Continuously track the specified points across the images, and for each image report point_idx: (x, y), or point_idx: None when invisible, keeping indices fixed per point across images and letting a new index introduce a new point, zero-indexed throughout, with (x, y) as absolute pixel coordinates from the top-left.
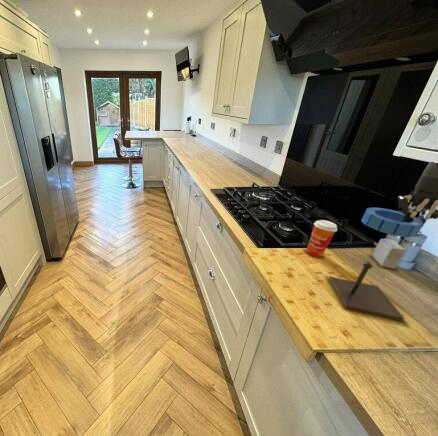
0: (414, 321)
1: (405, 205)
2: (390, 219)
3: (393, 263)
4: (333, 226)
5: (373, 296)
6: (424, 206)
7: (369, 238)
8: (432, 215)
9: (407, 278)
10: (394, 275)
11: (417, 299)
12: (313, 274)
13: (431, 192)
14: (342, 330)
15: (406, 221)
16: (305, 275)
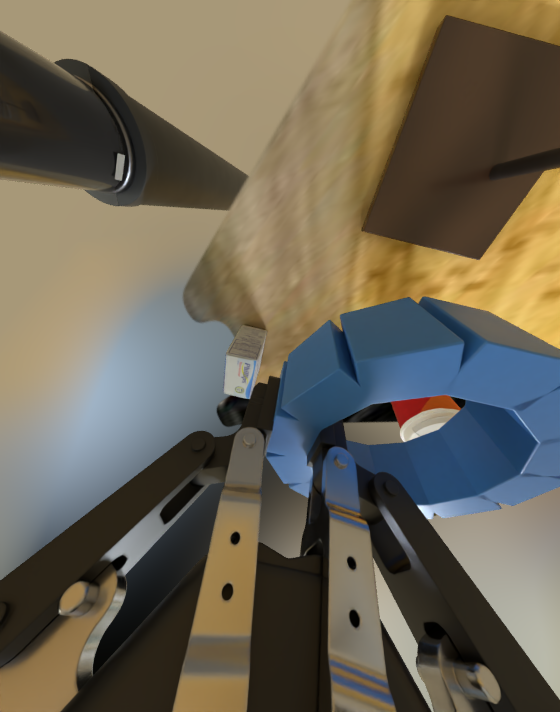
0: (385, 42)
1: (466, 599)
2: (536, 431)
3: (247, 332)
4: (436, 427)
5: (434, 163)
6: (301, 587)
7: (221, 415)
8: (210, 462)
9: (237, 292)
10: (260, 300)
11: (276, 197)
12: (499, 276)
13: None
14: None
15: (336, 423)
16: (535, 267)
